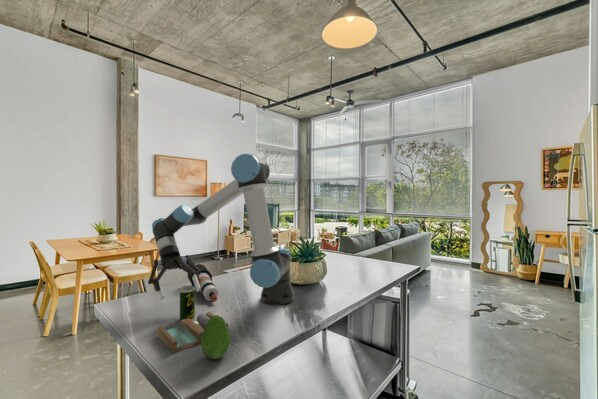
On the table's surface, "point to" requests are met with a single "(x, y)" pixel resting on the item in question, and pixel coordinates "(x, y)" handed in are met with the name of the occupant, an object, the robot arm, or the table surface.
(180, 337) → the caddy
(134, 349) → the table surface
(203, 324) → the smooth gray cylinder
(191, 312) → the beer can
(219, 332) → the avocado
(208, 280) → the cable
